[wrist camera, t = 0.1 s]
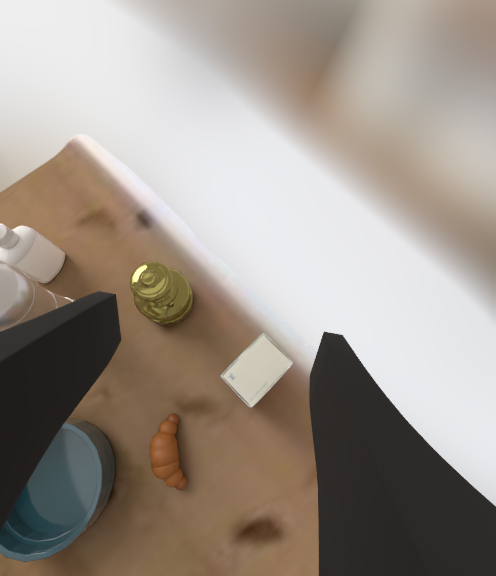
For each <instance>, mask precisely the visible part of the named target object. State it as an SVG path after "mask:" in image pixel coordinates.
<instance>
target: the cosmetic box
mask: <svg viewBox="0 0 496 576" xmlns="http://www.w3.org/2000/svg"><path fill="white" fill-rule="evenodd" d="M292 364H293V362H292V361H291V360H290V359H289V358H288V357H287V356H286V355H285V354H284V352H283V351H282V350H281V349H280V348H279V347H278V346H277V345H276V344H275V343H274V342H273V341H272V340H271V339H270V338H269V337H268V336H267V335H266V334H261V335H260V336H259V337H258V338H257V339H256V340H255V341H254V342H253V343H252V344H251V345H250V346H249V347H248V348H247V349H246V350H245V351H244V352H243V353H242V354H241V355H240V356H239V357H238V358H237V359H236V360H235V361H234V362H233V363H232V364H231V365H230V366H229V367H228V368H227V369H226V370H225V371H224V372H223V373H222V374H221V378H222V379H223V380H224V381H225V382H226V383H227V384H228V385H229V387H230V388H231V389H232V390H233V391H234V392H235V393H236V394H237V395H238V396H239V397H240V398H241V399H242V400H243V401H244V402H245V403H246V404H247V405H248V406H249V407H250V408H251V407H253V406H254V405H255V404H256V403H257V402H258V401H259V400H260V399H261V398H262V397H263V396H264V395H265V394H266V393H267V392H268V391H269V390H270V388H271V387H272V386H273V385H274V384H275V383H276V382H277V381H278V380H279V379H280V378H281V377H282V375H283V374H284V373H285V372H286V371H287V370H288V369H289V367H290V366H291V365H292Z"/></svg>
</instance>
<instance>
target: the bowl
mask: <svg viewBox="0 0 496 576" xmlns="http://www.w3.org/2000/svg"><path fill="white" fill-rule="evenodd" d="M114 479H115V460H114V456H113V453H112V449H111V446H110V443H109V441H108V440H107V439H106V437H105V436H104V435H103V433H102V432H101V430H99V429H98V428H96V427H95V426H93V425H92V424H90V423H89V422H87V421H83V420H79V419H74V418H68V419H67V420H66V421H65V423H64V424H63V426H62V427H61V428H60V430H59V431H58V433H57V434H56V436H55V437H54V439H53V441H52V442H51V444H50V446H49V447H48V449H47V450H46V452H45V454H44V455H43V457H42V459H41V460H40V462H39V463H38V465H37V467H36V469H35V470H34V472H33V474H32V476H31V477H30V479H29V481H28V482H27V484H26V486H25V488H24V489H23V491H22V493H21V495H20V496H19V498H18V500H17V502H16V503H15V505H14V507H13V509H12V511H11V513H10V515H9V516H8V518H7V520H6V522H5V524H4V526H3V527H2V529H1V531H0V553H1V554H2V555H3V556H5V557H7V558H11V559H15V560H19V561H24V562H28V561H34V560H40V559H46V558H48V557H50V556H52V555H54V554H55V553H57V552H59V551H61V550H63V549H65V548H66V547H68V546H69V545H70V544H71V543H72V542H73V541H74V540H75V539H77V538H78V537H79V536H80V535H81V534H82V533H83V532H84V531H85V530H86V529H87V528H88V527H89V526H90V525H91V524H92V523H94V522H95V521H96V520H97V519H98V517H99V516H100V514H101V512H102V510H103V509H104V507H105V505H106V504H107V502H108V500H109V497H110V494H111V490H112V487H113V483H114Z"/></svg>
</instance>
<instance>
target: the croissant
mask: <svg viewBox="0 0 496 576" xmlns="http://www.w3.org/2000/svg"><path fill="white" fill-rule="evenodd" d="M178 423H179V417H178V415H176V414H171V415H169V417H168V418H167V420H165V421H164V422H162V423H161V425H160V427H159V433H157V434H156V435H155V436H154V437H153V438H152V440H151V443H150V456H151V466H152V471H153V473H154V475H155V476H156V477H157V478H159V479H164V482H165V484H166V485H167V486H169V487H176V488H177V489H178V490H182V489H184V488H185V487H186V485H187V478H186V477H185V476H184V475H183V473H182V470H181V468H180V467H179V454H178V446H177V440H176V437H175V436H174V435H175V434H176V431H177V426H176V425H177V424H178Z"/></svg>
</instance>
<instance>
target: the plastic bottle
mask: <svg viewBox="0 0 496 576" xmlns="http://www.w3.org/2000/svg"><path fill="white" fill-rule="evenodd" d="M73 301H76V300H75V299H71V298H67V297H62V296H59V295H56V294H54V293H51V292H50V291H48V290H46V289H45V288H43V287H41V286H40V285H38V284H37V283H36V282H34V281H33V280H32V279H31V278H29V277H28V276H27V275H26V274H24V273H23V272H21V271H20V270H18V269H17V268H15V267H13V266H10V265H7V264H1V263H0V331H3V330H6V329H8V328H11V327H13V326H16V325H18V324H21V323H24V322H26V321H29V320H31V319H34V318H36V317H38V316H41V315H43V314H45V313H48V312H50V311H52V310H55V309H57V308H59V307H62V306H64V305H66V304H69V303H71V302H73Z"/></svg>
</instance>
